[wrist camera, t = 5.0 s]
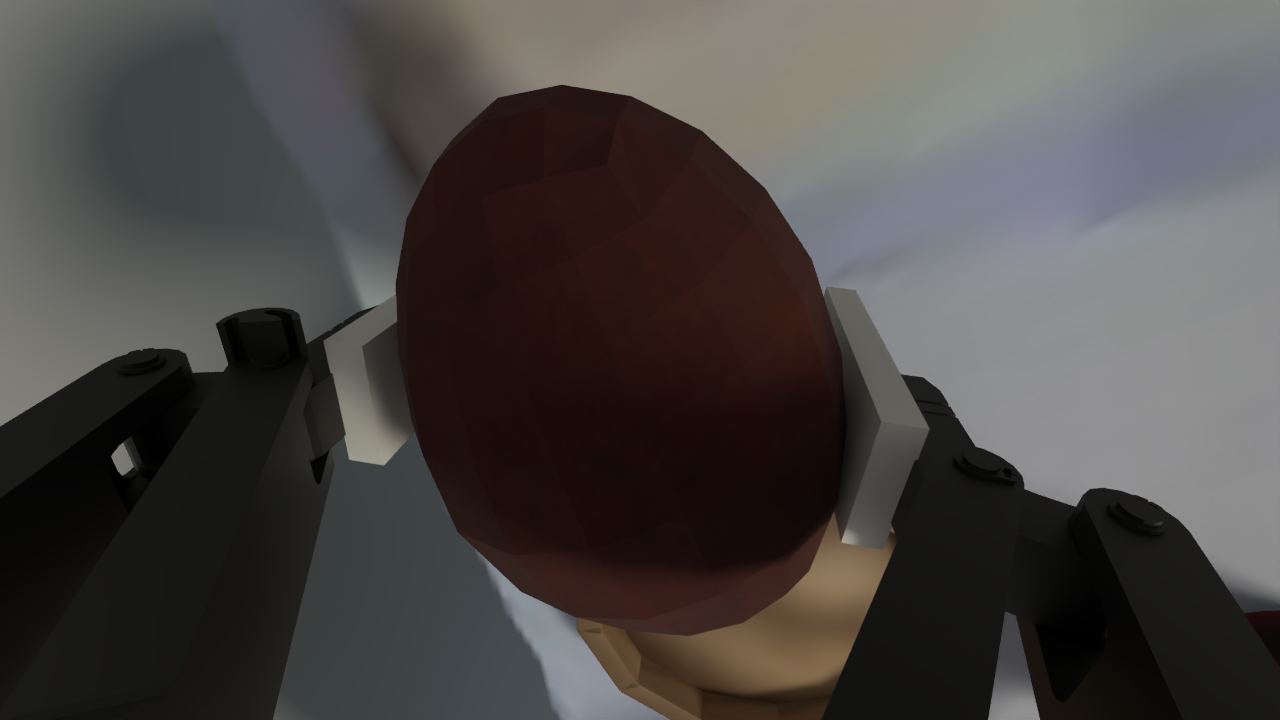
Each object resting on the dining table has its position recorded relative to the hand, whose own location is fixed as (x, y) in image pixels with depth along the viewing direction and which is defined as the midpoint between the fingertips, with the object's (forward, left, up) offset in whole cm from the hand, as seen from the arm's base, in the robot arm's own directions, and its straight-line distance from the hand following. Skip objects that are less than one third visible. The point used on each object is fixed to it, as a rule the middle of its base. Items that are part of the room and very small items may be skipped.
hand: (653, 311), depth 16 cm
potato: (0, 0, 0) cm, 1 cm away
